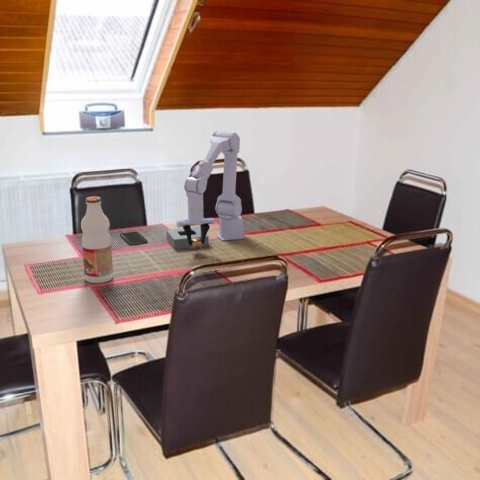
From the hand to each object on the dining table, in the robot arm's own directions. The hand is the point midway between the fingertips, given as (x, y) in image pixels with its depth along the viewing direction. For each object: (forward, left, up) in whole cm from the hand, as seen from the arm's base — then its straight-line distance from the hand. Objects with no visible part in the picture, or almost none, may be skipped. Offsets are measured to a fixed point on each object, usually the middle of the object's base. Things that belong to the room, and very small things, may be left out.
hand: (196, 243), depth 212 cm
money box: (0, -14, -4) cm, 14 cm away
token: (0, 0, -2) cm, 2 cm away
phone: (+20, -25, -5) cm, 32 cm away
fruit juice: (+38, +15, -4) cm, 41 cm away
